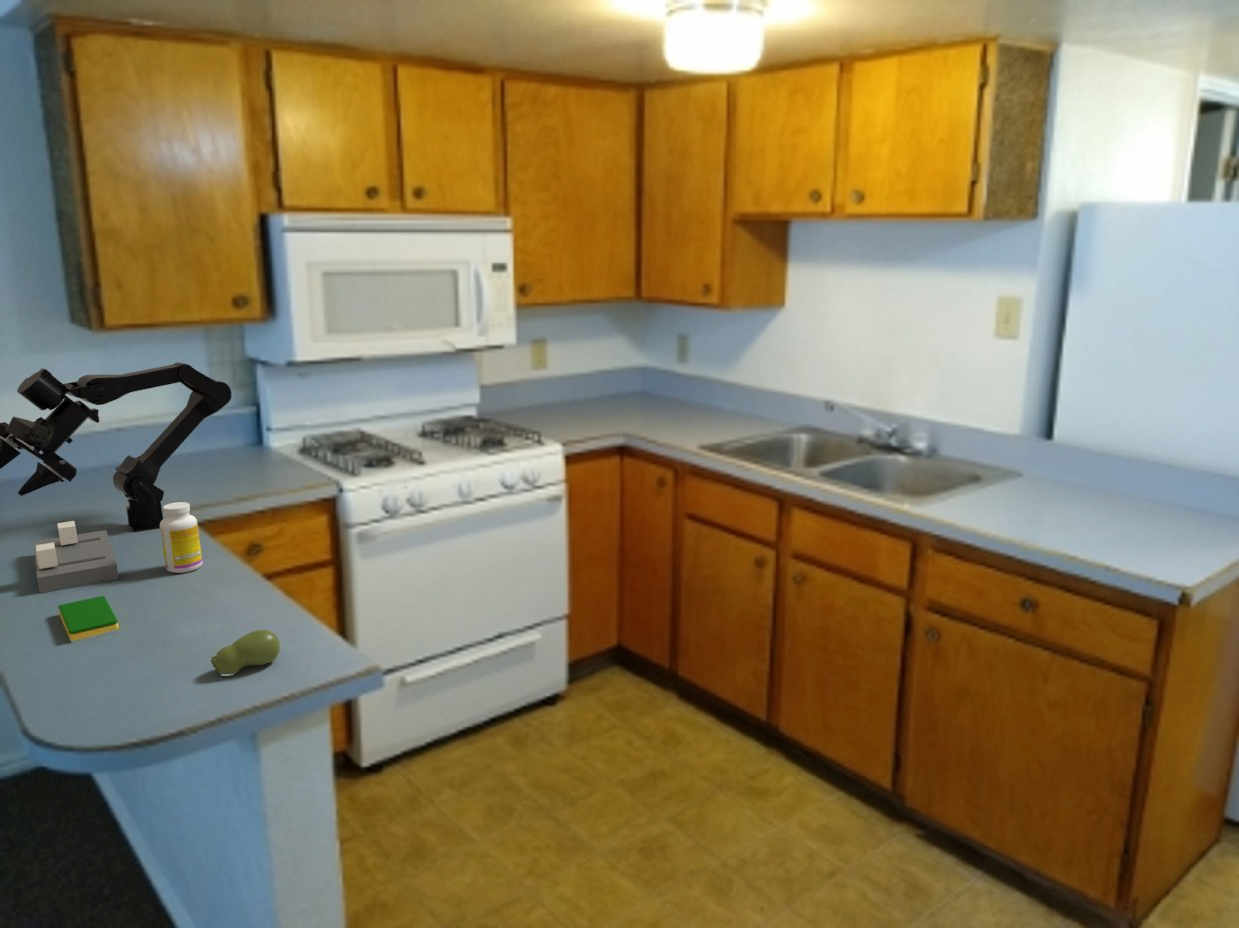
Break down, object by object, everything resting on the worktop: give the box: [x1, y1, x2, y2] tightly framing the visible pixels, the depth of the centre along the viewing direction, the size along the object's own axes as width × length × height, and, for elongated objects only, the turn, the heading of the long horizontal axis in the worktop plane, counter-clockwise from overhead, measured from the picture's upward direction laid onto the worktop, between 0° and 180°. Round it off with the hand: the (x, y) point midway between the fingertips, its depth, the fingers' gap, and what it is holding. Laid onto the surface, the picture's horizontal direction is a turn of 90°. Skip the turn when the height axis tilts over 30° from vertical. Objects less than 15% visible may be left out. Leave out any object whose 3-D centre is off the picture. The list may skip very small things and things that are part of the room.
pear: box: [210, 629, 281, 675], centre depth 145 cm, size 6×5×10 cm
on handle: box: [36, 542, 58, 569], centre depth 178 cm, size 3×4×4 cm
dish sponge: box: [58, 595, 120, 641], centre depth 161 cm, size 7×14×2 cm, turn 36°
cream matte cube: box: [57, 520, 78, 545], centre depth 191 cm, size 3×4×4 cm
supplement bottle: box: [159, 501, 203, 574], centre depth 185 cm, size 7×7×13 cm
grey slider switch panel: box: [33, 529, 119, 594], centre depth 187 cm, size 13×24×3 cm, turn 32°
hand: (3, 484), depth 190 cm, fingers open, 9 cm apart
